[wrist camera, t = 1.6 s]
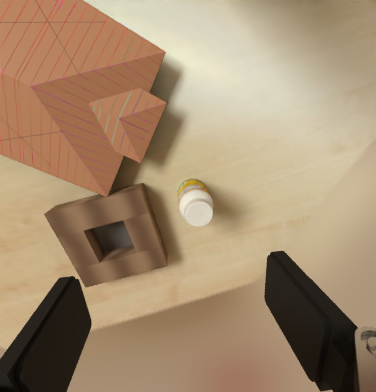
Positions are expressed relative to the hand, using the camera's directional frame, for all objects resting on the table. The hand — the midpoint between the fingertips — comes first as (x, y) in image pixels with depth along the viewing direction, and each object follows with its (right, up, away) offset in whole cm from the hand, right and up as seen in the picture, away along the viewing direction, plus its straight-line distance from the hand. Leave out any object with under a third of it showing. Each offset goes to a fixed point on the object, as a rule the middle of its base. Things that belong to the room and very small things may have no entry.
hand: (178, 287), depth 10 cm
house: (-20, +21, +20) cm, 35 cm away
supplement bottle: (+1, +5, +27) cm, 28 cm away
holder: (-13, -2, +28) cm, 31 cm away
